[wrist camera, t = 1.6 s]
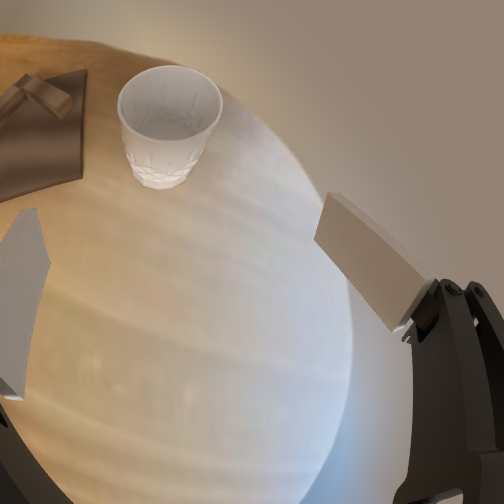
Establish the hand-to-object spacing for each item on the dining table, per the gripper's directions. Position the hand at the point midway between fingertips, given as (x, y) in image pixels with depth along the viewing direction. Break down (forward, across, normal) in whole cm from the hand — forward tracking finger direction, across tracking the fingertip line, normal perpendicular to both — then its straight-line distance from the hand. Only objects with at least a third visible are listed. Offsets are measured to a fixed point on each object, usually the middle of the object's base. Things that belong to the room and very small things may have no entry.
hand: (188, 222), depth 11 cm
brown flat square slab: (+22, -17, +1) cm, 28 cm away
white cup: (+18, 0, -3) cm, 19 cm away
